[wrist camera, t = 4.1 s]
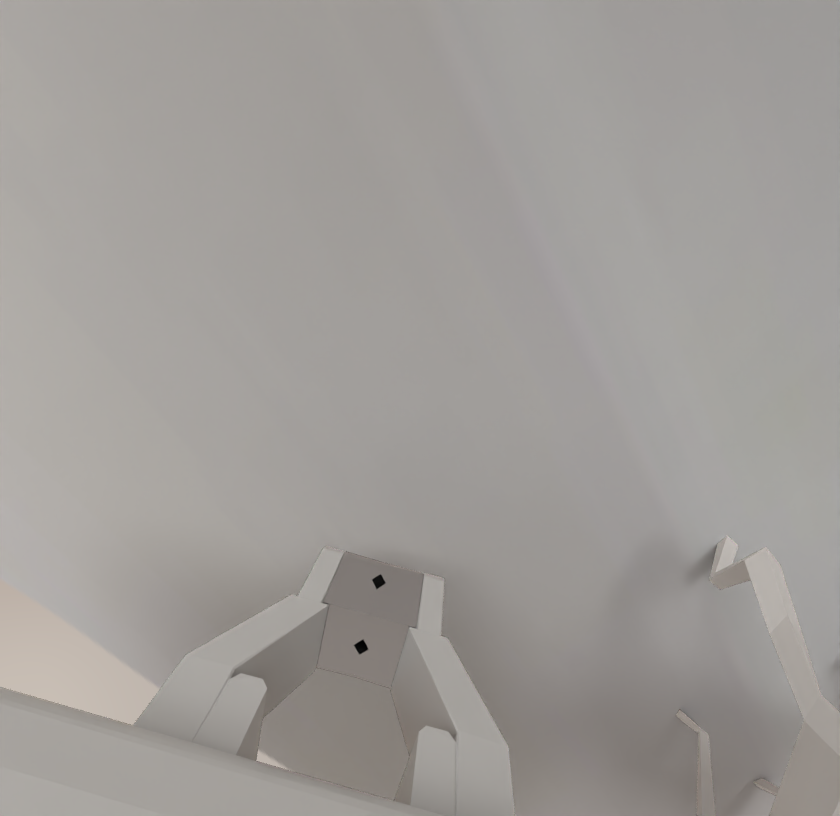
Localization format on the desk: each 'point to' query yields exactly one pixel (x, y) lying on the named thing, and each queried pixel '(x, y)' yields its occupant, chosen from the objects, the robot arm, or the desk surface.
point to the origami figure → (823, 724)
